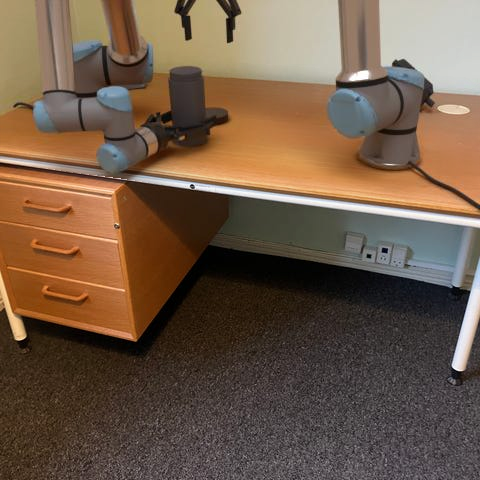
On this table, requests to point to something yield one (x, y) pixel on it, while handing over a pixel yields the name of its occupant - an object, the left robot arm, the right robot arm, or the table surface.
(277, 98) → the table surface
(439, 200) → the table surface
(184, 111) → the jar
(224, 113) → the lid
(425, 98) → the tool
